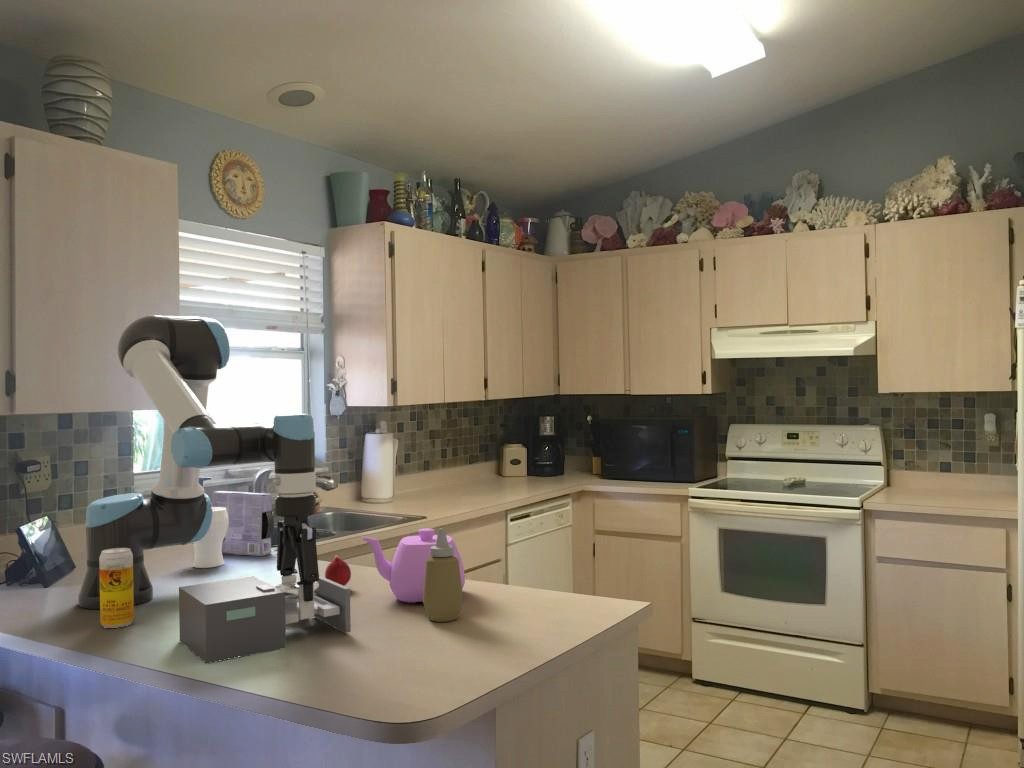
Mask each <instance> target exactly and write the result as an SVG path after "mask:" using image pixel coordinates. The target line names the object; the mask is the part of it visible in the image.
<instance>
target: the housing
mask: <svg viewBox="0 0 1024 768" xmlns="http://www.w3.org/2000/svg"><path fill="white" fill-rule="evenodd" d="M178 609H179V611H178V614H179V616H178V619H179V621H178V623H179V642H180V641H181V642H180V643H181V644H183V645H184V646H185V645H186V646H187V647H188V650H190V651H191V652H192V651H193V652H194V653H195V654H194V653H193V652H192V653H193V654H194V655H196V656H197V657H198V656H199V657H200V658H201V659H202V660H201V659H200V658H199V657H198V658H199V659H200V660H201V661H202V662H204V663H205V664H206V663H208V664H211V663H210V662H213V663H216V662H215V661H218V662H220V661H219V660H223V661H225V660H224V659H228V658H233V659H235V658H234V657H238V656H243V657H245V656H244V655H248V656H251V654H253V655H256V654H257V653H258V654H262V653H263V654H264V653H267V651H268V652H271V651H272V652H273V651H276V650H277V649H278V650H281V649H282V648H283V649H286V648H287V635H286V633H287V631H286V628H287V627H286V626H287V624H286V620H285V592H284V591H282V590H280V589H278V588H276V587H275V586H274V585H271V584H270V583H267V582H265V581H264V580H261V579H260V578H257V576H256V577H255V576H245V577H238V578H233V579H226V580H218V581H212V582H205V583H199V584H198V583H197V584H192V585H191V584H190V585H185V586H184V585H183V586H179V587H178ZM186 646H185V647H186ZM187 647H186V648H187ZM278 650H277V651H278ZM238 658H239V657H238ZM228 660H229V659H228Z"/></svg>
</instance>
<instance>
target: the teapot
mask: <svg viewBox="0 0 1024 768" xmlns="http://www.w3.org/2000/svg"><path fill="white" fill-rule="evenodd" d="M435 531H436V530H435V529H433V528H431V527H430V528H427V527H426V528H420V529H418V530H417V532H418V533H417V534H418V535H408V536H405V537H402V538H401V539H400V541H399V543H398V545H397V548H396V550H395V553H394V556H393V559H392V561H391V562H390V561H389V560H387V559H386V558H385V556H384V553H383V550H382V545H381V542H380V541H379V540H378V539H376V538H375V537H368V536H360V539H362V540H363V541H365V542H366V543H368V544H369V546H370V548H371V549H372V552H373V556H374V561H375V562H374V563H375V566H376V570H377V571H378V573H379V575H380V576H381V577H382V578H383V579H384V580H385V581H388V582H389V587H390V591H392V594H393V595H394V597H395V598H396V599H397V600H398V601H401V602H404V603H405V602H407V603H406V604H415V603H414V602H417V603H420V602H422V603H423V592H424V580H425V567H426V560H427V559H428V558H430V557H432V556H431V555H430V548H431V547H432V546H436V540H437V535H438V534H435ZM446 537H447V541H448V545H451V546H453V547H454V554H453V555H452V556H455V557H456V558H457V559H458V560H459V568H460V576H461V585H462V589H463V588H464V586H465V583H466V582H465V581H466V576H465V568H464V564H463V560H462V557H461V555H460V552H459V550H458V547H457V545H456V542H455V541H454V538H452V536H450V535H447V534H446Z"/></svg>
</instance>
